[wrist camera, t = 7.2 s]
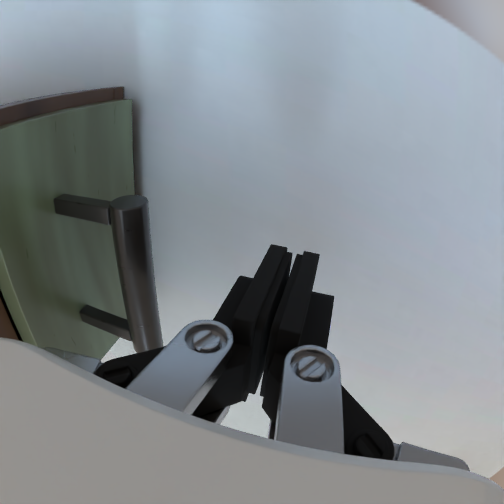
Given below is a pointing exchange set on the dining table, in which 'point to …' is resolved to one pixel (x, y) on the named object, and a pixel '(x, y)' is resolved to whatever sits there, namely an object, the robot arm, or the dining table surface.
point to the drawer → (76, 232)
